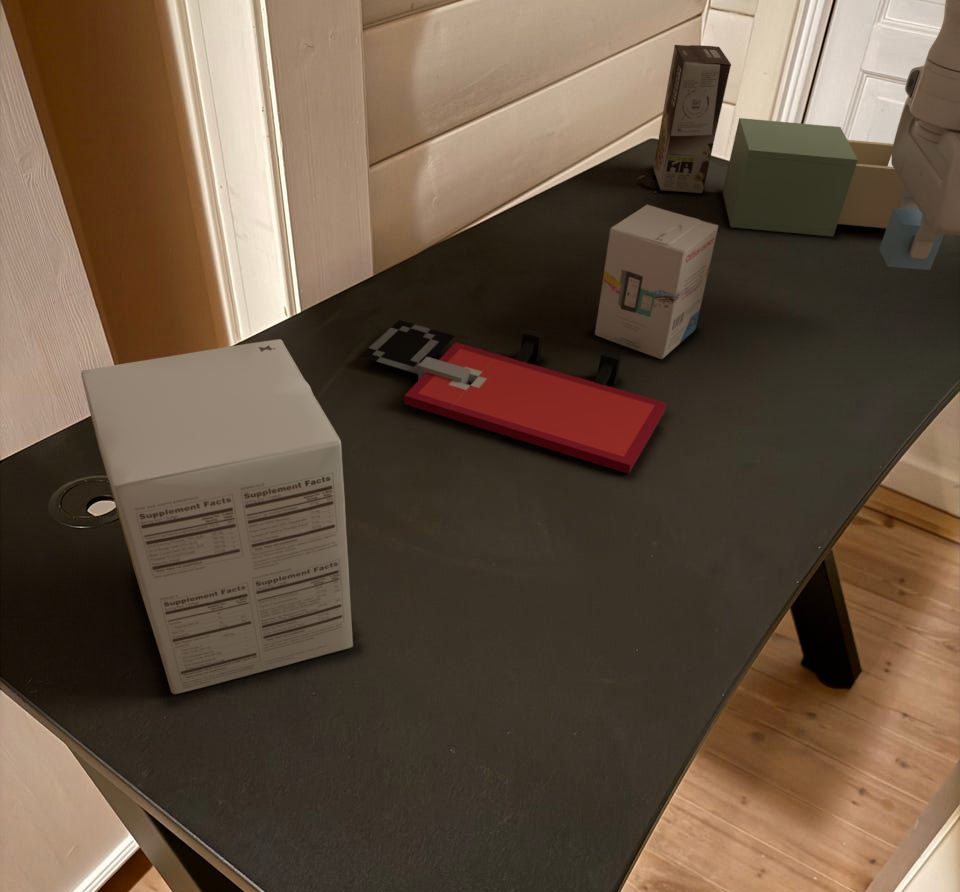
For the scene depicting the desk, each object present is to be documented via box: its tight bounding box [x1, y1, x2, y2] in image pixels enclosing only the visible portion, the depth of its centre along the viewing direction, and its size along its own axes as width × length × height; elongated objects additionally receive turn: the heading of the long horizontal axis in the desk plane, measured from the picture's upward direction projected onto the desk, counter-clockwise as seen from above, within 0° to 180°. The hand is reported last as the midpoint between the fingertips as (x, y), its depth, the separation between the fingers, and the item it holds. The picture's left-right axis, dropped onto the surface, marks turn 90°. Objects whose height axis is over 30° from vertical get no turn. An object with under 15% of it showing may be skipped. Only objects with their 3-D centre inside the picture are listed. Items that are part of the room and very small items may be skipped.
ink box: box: [594, 204, 719, 360], centre depth 98 cm, size 8×8×12 cm
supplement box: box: [80, 338, 354, 695], centre depth 63 cm, size 13×13×18 cm
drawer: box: [837, 139, 905, 229], centre depth 125 cm, size 17×11×8 cm
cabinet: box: [721, 117, 858, 237], centre depth 125 cm, size 14×13×10 cm
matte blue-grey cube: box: [878, 208, 944, 271], centre depth 98 cm, size 4×4×4 cm
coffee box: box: [653, 44, 732, 194], centre depth 129 cm, size 9×6×16 cm
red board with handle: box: [359, 319, 668, 475], centre depth 91 cm, size 30×3×15 cm
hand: (910, 244), depth 99 cm, fingers closed on matte blue-grey cube, 4 cm apart
